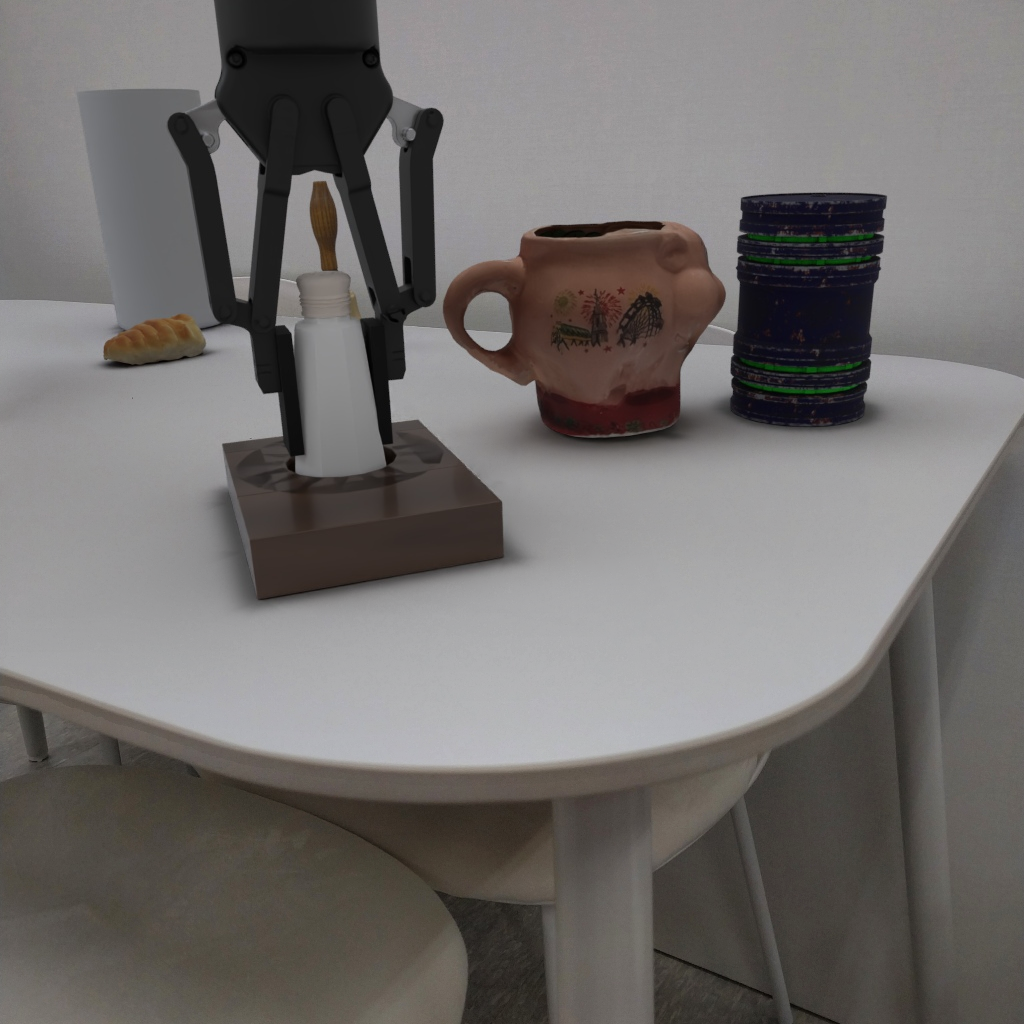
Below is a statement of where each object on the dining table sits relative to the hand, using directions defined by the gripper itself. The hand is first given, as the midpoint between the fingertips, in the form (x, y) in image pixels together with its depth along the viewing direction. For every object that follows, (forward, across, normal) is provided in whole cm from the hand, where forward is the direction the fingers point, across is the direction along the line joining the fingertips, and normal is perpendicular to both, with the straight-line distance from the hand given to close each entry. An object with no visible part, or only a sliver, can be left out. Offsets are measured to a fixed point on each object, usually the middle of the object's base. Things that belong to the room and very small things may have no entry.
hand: (337, 442), depth 54 cm
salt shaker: (+2, 0, 0) cm, 2 cm away
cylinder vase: (+4, -7, +69) cm, 69 cm away
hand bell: (+4, +8, +46) cm, 47 cm away
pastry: (+4, -9, +50) cm, 51 cm away
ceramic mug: (+4, +19, +9) cm, 21 cm away
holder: (+4, 0, -2) cm, 4 cm away
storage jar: (+4, +35, +7) cm, 36 cm away
